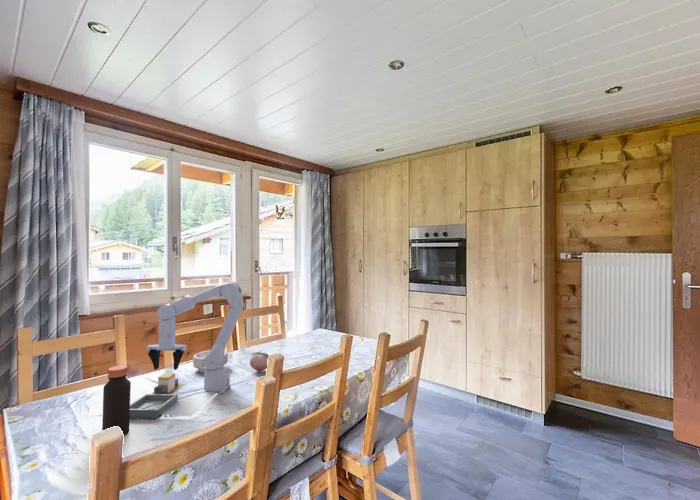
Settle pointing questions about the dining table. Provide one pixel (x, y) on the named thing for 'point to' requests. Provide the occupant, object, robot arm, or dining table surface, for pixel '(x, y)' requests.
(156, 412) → the tray
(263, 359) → the decorative fruit
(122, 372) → the bottle
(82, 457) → the dining table surface
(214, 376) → the robot arm
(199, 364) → the white bowl
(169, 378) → the white and tan block
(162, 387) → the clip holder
